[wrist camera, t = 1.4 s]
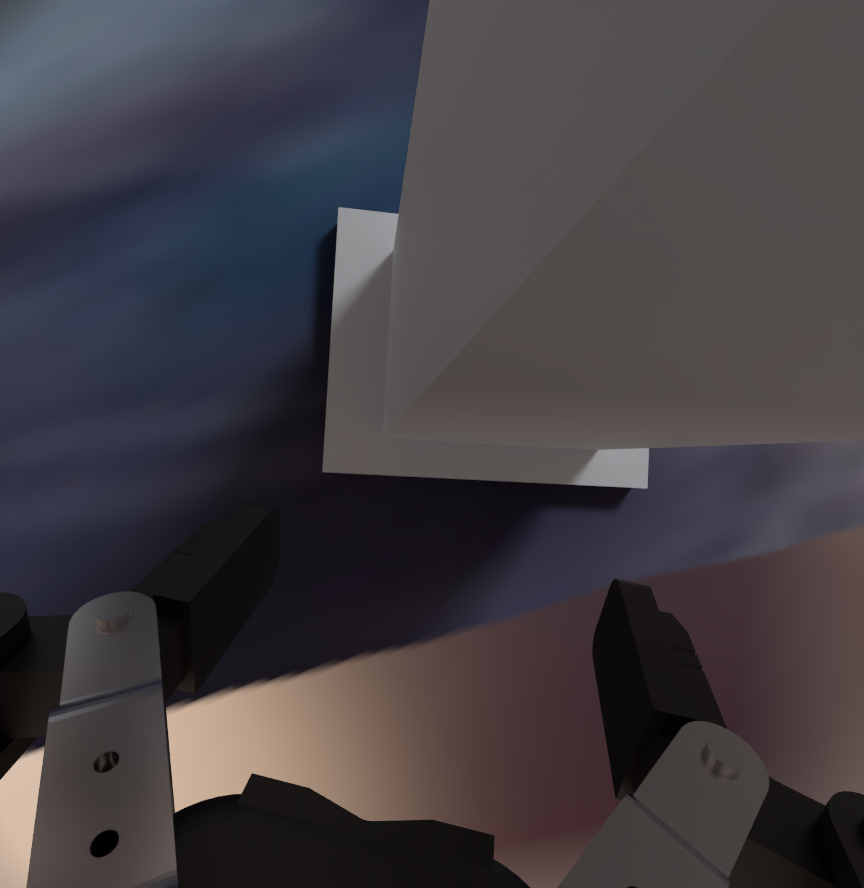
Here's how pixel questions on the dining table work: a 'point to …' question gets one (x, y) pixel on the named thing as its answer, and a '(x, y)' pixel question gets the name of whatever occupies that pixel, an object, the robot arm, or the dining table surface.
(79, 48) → the dining table surface
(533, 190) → the white plinth column
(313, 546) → the dining table surface
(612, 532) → the dining table surface
